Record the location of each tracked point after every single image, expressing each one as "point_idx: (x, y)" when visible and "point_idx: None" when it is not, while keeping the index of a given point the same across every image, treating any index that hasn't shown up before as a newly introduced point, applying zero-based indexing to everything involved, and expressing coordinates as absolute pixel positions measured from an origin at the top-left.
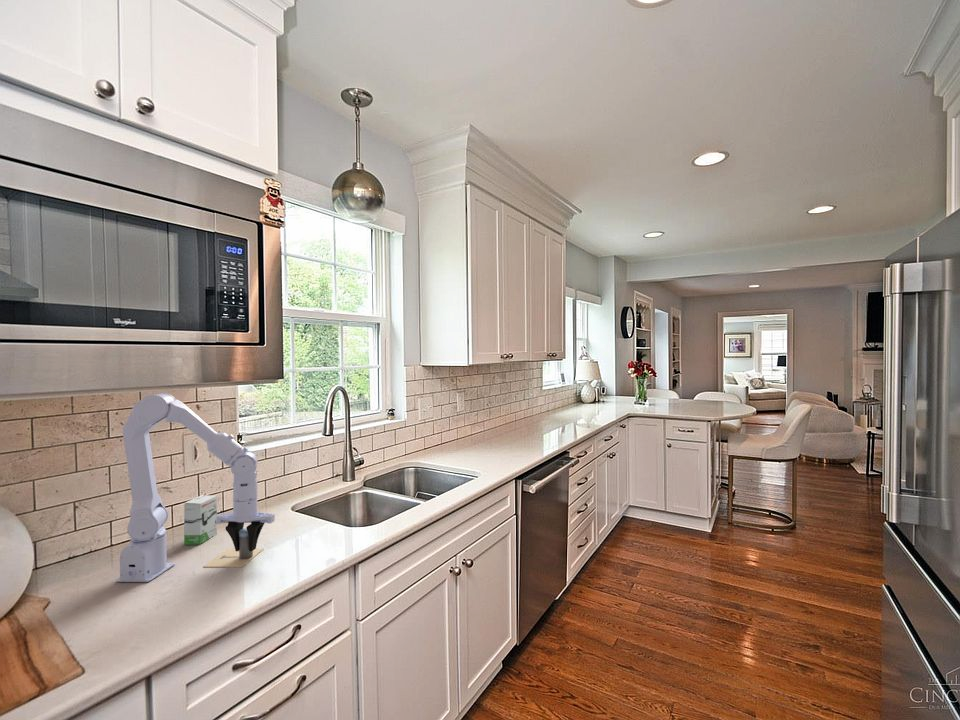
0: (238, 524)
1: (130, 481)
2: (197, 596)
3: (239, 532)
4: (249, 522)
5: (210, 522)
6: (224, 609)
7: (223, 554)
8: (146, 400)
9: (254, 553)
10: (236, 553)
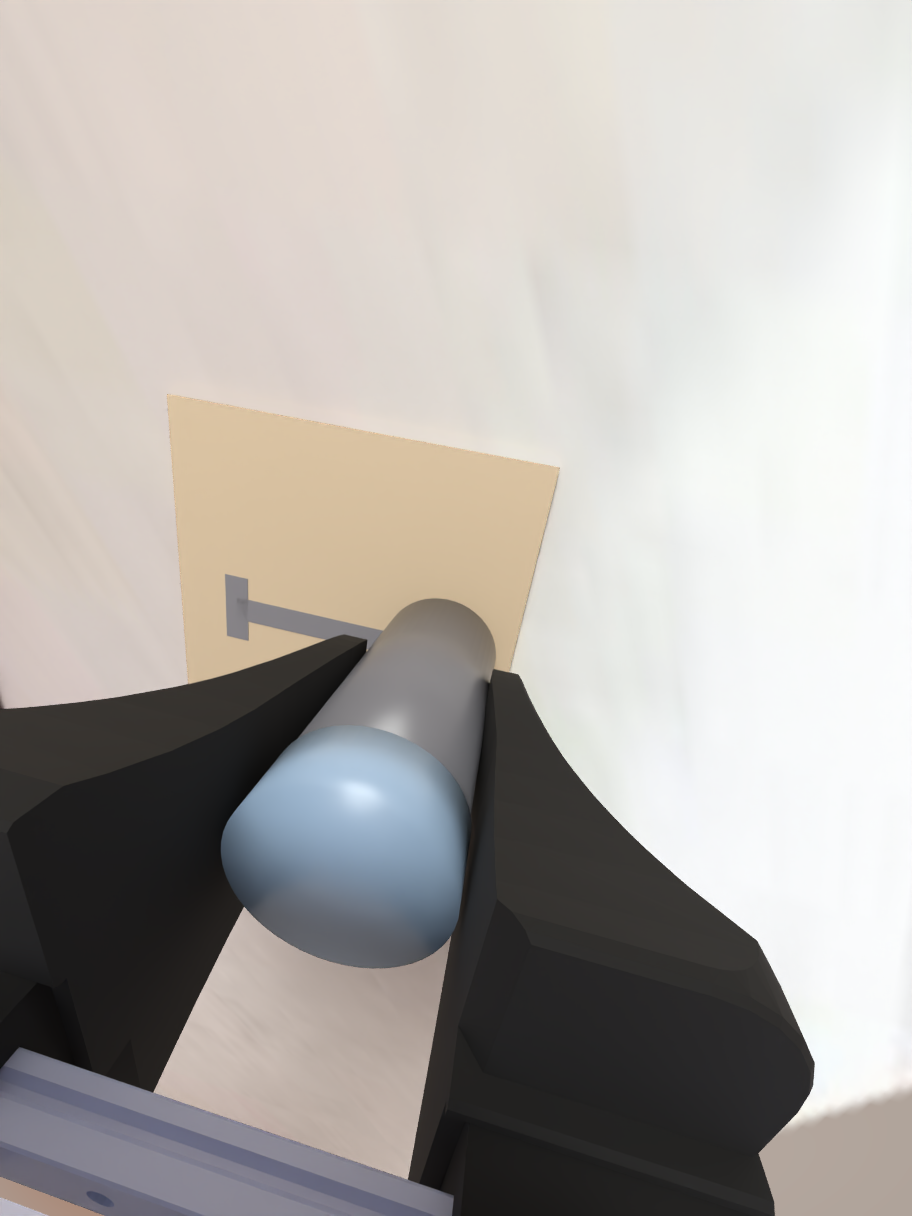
0: (102, 1023)
1: None
2: (364, 1025)
3: (269, 928)
4: (360, 1208)
5: None
6: None
7: (210, 546)
8: None
9: (494, 589)
10: (318, 550)
